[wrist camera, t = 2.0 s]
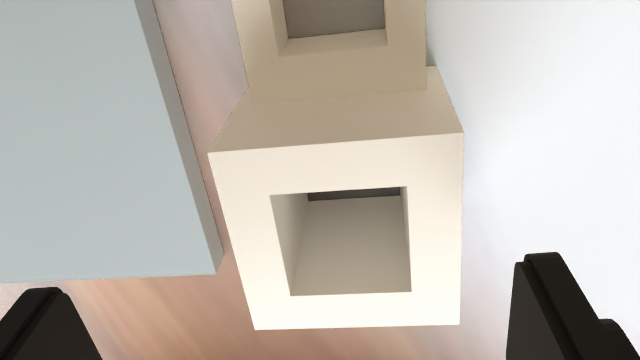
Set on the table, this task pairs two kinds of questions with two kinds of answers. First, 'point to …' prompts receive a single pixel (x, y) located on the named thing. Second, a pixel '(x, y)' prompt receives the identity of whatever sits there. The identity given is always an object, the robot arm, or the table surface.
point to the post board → (96, 148)
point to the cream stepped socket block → (342, 175)
